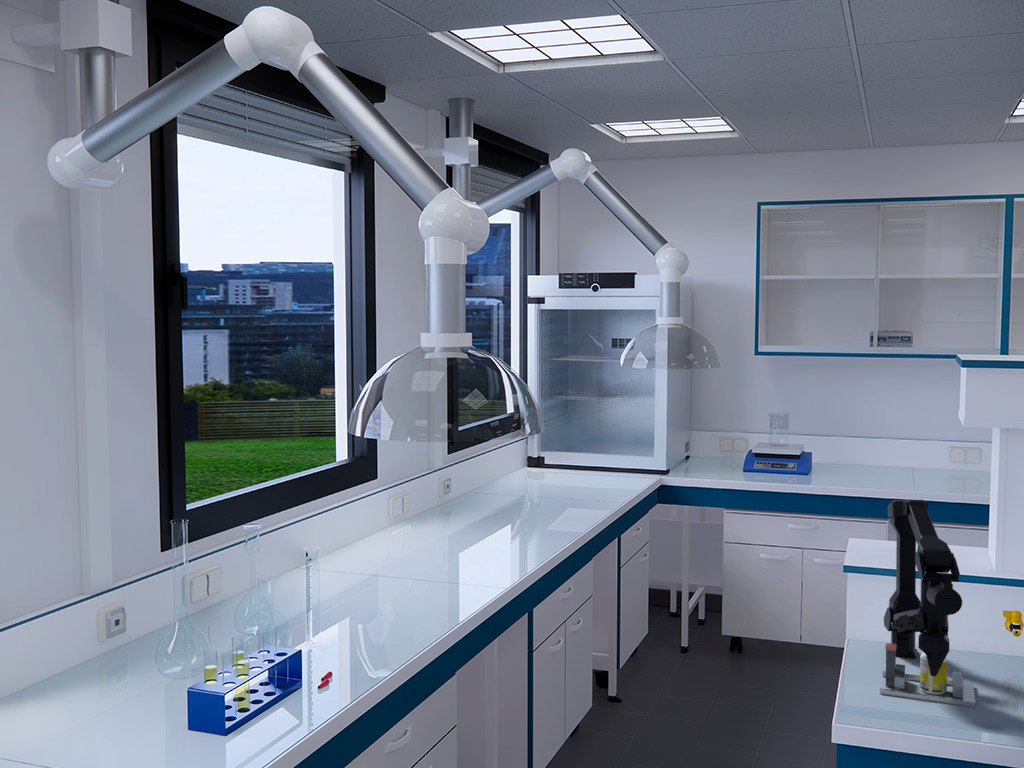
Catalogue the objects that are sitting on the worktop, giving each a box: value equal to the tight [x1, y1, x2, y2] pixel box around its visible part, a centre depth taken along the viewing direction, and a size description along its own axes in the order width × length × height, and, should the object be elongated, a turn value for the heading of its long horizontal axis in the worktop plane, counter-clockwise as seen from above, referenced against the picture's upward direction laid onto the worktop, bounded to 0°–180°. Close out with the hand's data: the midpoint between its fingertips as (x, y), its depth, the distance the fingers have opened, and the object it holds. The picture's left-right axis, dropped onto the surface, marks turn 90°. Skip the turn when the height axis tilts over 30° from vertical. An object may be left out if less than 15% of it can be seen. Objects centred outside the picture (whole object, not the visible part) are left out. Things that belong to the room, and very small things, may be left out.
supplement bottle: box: [919, 652, 948, 696], centre depth 211 cm, size 6×6×10 cm
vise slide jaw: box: [885, 642, 906, 691], centre depth 215 cm, size 9×4×9 cm, turn 156°
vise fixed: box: [879, 670, 976, 708], centre depth 212 cm, size 13×19×4 cm
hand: (933, 669), depth 211 cm, fingers open, 8 cm apart
